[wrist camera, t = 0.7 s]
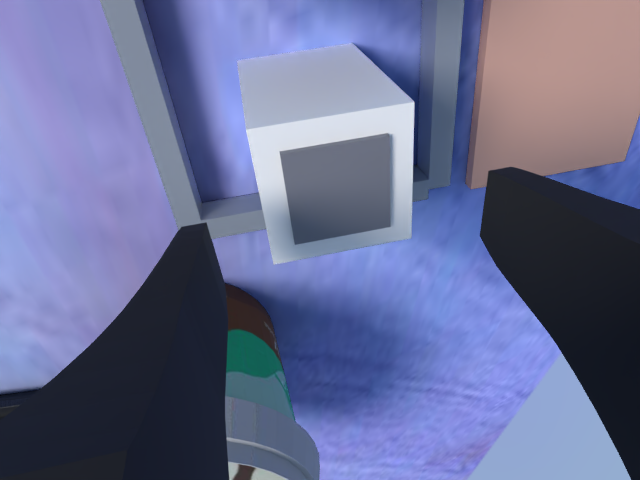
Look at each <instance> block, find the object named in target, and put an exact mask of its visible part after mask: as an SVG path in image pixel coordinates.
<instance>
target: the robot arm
mask: <svg viewBox="0 0 640 480" xmlns="http://www.w3.org/2000/svg"><path fill="white" fill-rule="evenodd" d="M480 237H481V239H482V241H483V243H484V244H485V246H486V248H487V250H488V252H489V254H490V255H491V257H492V259H493V261H494V262H495V264H496V266H497V267H498V268H499V270H500V271H501V272H502V274H503V275H504V276H505V278H506V279H507V280H508V282H509V283H510V284H511V285H512V287H513V288H514V289H515V291H516V292H517V293H518V294H519V296H520V297H521V298H522V300H523V301H524V302H525V303H526V305H527V306H528V307H529V308H530V310H531V311H532V312H533V313H534V315H535V316H536V317H537V319H538V320H539V321H540V322H541V324H542V325H543V326H544V327H545V329H546V330H547V331H548V333H549V334H550V336H551V337H552V338H553V340H554V341H555V343H556V344H557V346H558V347H559V349H560V350H561V352H562V354H563V355H564V357H565V359H566V360H567V362H568V363H569V365H570V367H571V368H572V370H573V371H574V373H575V375H576V376H577V378H578V380H579V382H580V383H581V385H582V387H583V389H584V390H585V392H586V393H587V395H588V397H589V399H590V401H591V402H592V404H593V406H594V408H595V409H596V411H597V413H598V415H599V417H600V419H601V421H602V422H603V424H604V426H605V428H606V430H607V432H608V434H609V436H610V438H611V440H612V441H613V443H614V445H615V447H616V449H617V451H618V452H619V455H620V457H621V459H622V461H623V463H624V465H625V467H626V469H627V471H628V474H629V476H630V477H631V480H640V209H637V208H634V207H630V206H627V205H624V204H621V203H618V202H614V201H611V200H608V199H605V198H602V197H599V196H596V195H594V194H591V193H588V192H585V191H582V190H579V189H577V188H574V187H571V186H568V185H566V184H563V183H560V182H557V181H555V180H552V179H549V178H546V177H543V176H541V175H538V174H535V173H532V172H529V171H526V170H522V169H519V168H515V167H506V168H501V169H496V170H490V171H488V178H487V186H486V193H485V201H484V209H483V216H482V224H481V231H480ZM227 343H228V310H227V299H226V289H225V283H224V280H223V276H222V273H221V270H220V266H219V263H218V260H217V256H216V253H215V249H214V246H213V243H212V239H211V236H210V232H209V229H208V226H207V222H205V223H200V224H194V225H189V226H183V227H181V228H180V229H179V231H178V232H177V234H176V235H175V237H174V238H173V240H172V241H171V243H170V245H169V246H168V248H167V249H166V251H165V252H164V254H163V256H162V257H161V259H160V260H159V262H158V263H157V265H156V266H155V268H154V269H153V270H152V272H151V273H150V275H149V276H148V278H147V279H146V281H145V282H144V283H143V285H142V286H141V288H140V289H139V290H138V291H137V293H136V294H135V295H134V297H133V298H132V299H131V300H130V302H129V303H128V304H127V306H126V307H125V308H124V309H123V311H122V312H121V313H120V314H119V315H118V316H117V317H116V319H115V320H114V321H113V322H112V323H111V324H110V325H109V326H108V327H107V328H106V329H105V330H104V331H103V333H102V334H101V335H100V336H99V337H98V338H97V339H96V340H95V341H94V342H93V343H92V344H91V345H90V346H89V347H88V348H87V349H85V350H84V351H83V352H82V353H81V354H80V355H79V356H78V357H77V358H76V359H75V360H73V361H72V362H71V363H70V364H69V365H68V366H67V367H66V368H65V369H64V370H62V371H61V372H60V373H59V374H58V375H57V376H56V377H55V378H53V379H52V380H51V381H50V382H49V383H47V384H46V385H45V386H44V387H42V388H41V389H40V390H39V391H38V392H36V393H35V394H34V395H33V396H31V397H30V398H29V399H27V400H26V401H25V402H24V403H22V404H21V405H20V406H18V407H17V408H16V409H14V410H13V411H12V412H11V413H9V414H8V415H6V416H5V417H4V418H2V419H1V420H0V480H229V467H228V453H227V438H226V422H225V391H226V367H227Z"/></svg>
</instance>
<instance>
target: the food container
mask: <svg viewBox="0 0 640 480" xmlns="http://www.w3.org/2000/svg"><path fill="white" fill-rule="evenodd" d="M225 289H226V299H227V310H228V343H227V367H226V391H225V422H226V438H227V453H228V467H229V480H319V472H320V464H319V453H318V450H317V448H316V445H315V442H314V441H313V440H312V438H311V437H310V436H309V434H308V433H307V431H306V430H304V429H303V428H302V427H301V426H300V425H299V424H297V423H296V421H295V417H294V413H293V409H292V404H291V400H290V396H289V392H288V387H287V383H286V379H285V375H284V371H283V366H282V362H281V358H280V354H279V349H278V345H277V341H276V337H275V333H274V328H273V324H272V322H271V319H270V316H269V315H268V313H267V312H266V310H265V308H264V307H263V306H262V305H261V304H260V303H259V302H258V301H257V300H256V299H255V298H253V297H252V296H251V295H249V294H248V293H246V292H245V291H243V290H241V289H239V288H237V287H235V286H232V285H229V284H226V283H225Z"/></svg>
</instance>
